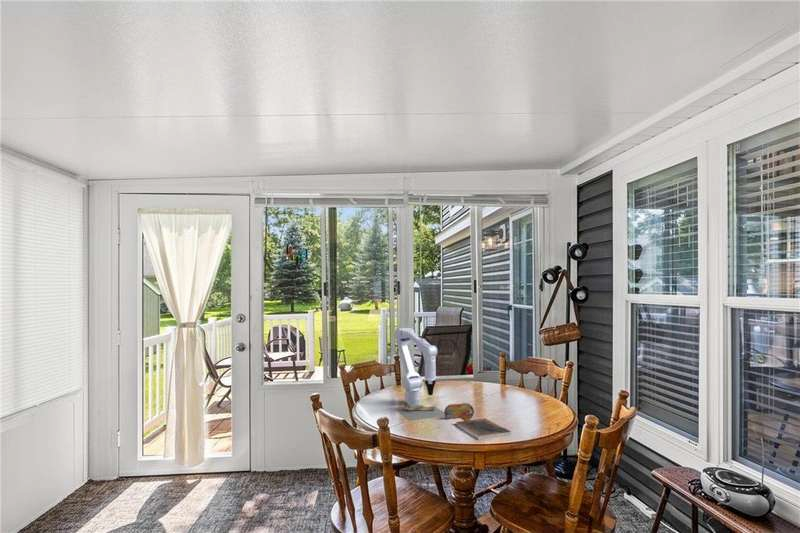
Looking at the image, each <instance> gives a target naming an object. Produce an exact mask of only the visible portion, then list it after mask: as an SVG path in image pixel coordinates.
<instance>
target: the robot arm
mask: <svg viewBox="0 0 800 533" xmlns="http://www.w3.org/2000/svg"><path fill="white" fill-rule="evenodd" d="M393 336H394V339H395V342H396V345H397V347H398V350H399V354H400V358H401V362H402V364H403V365H402V366H403V369H404V373H405V374H404V375H403V377H402V383H403V385H402V386H403V388H404V390H405V391H404V403H408V405H414V400H419V405H421V404H420V402H421V401H420V400H421V399H420V398H421V396H420V391H421V390H422V387H423V386H424V385H423V384H425V386H426V389H427V395H428V396H433V393H434V389H435V385H436V381H437V380H438V379H439V377H438V376H436V374H437V373H436V372H437V371H436V369H437V366H436V361H437V359H436V357H437V356H438V353H439V351H438V350H439V349H438V347H437V346H436V345H431V344H430V343H429V342H428V341H427V340H426V338H420V337H419V336H418V335H417V334H416V333H415V329H413V327H411V326H410V327H399V328H398V327H397V328H395V331H394V335H393ZM410 342H413V343H414V344H415V346H416V348H417V349H418V350H420V351H421V352H422V356H423V360H424V380H425V381H424V382H423V379H422V378H421V376H420V375H421V374H419V373H418V372H416V371H415V370H416V369H415V367H414V364H413V360H412V358H411V353H410V351H409V347H408V345H409V343H410Z"/></svg>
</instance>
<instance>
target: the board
mask: <svg viewBox="0 0 800 533" xmlns="http://www.w3.org/2000/svg"><path fill="white" fill-rule="evenodd" d="M394 410H395V411H396V412H398V413H399V414H400V415H402V416H403V417H404V418H405V419H406V420H408V421H417V420H426V419H433V418H434V419H435V418H443V417H444V418H446V417H445V414H444V410H442V409H440V408H438V407H437V406H435V405H434V410H402V407H399V408H394Z"/></svg>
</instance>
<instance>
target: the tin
mask: <svg viewBox="0 0 800 533" xmlns="http://www.w3.org/2000/svg"><path fill="white" fill-rule="evenodd" d="M443 412H444V414H445V417H444V418H445V419H446V420H451V419H453V420H455V419H461V421H468V420H472V418H473V416H474V414H475V410H474V407H473V406H472V405H471V404H470V403H468V402H460V403H451V404H447V406H445V408H444V410H443Z"/></svg>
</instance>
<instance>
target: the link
mask: <svg viewBox="0 0 800 533" xmlns="http://www.w3.org/2000/svg"><path fill="white" fill-rule="evenodd" d="M434 406H435V405H434V404H419V405H418V407H414V405H408V403H406V402H404V403H403V404H401V408H402V410H434Z"/></svg>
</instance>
